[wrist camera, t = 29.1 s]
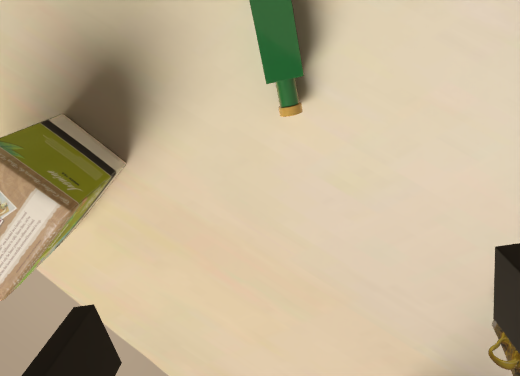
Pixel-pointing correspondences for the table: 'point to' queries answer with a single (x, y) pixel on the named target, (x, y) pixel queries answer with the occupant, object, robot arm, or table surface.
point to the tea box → (46, 191)
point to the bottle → (279, 50)
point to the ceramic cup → (514, 360)
